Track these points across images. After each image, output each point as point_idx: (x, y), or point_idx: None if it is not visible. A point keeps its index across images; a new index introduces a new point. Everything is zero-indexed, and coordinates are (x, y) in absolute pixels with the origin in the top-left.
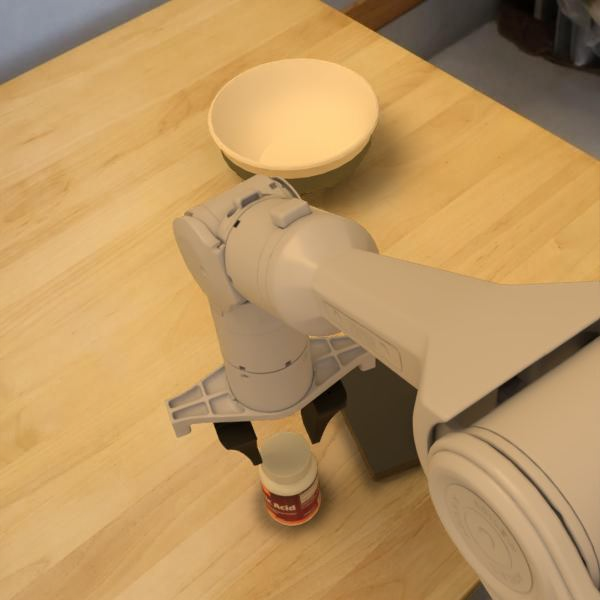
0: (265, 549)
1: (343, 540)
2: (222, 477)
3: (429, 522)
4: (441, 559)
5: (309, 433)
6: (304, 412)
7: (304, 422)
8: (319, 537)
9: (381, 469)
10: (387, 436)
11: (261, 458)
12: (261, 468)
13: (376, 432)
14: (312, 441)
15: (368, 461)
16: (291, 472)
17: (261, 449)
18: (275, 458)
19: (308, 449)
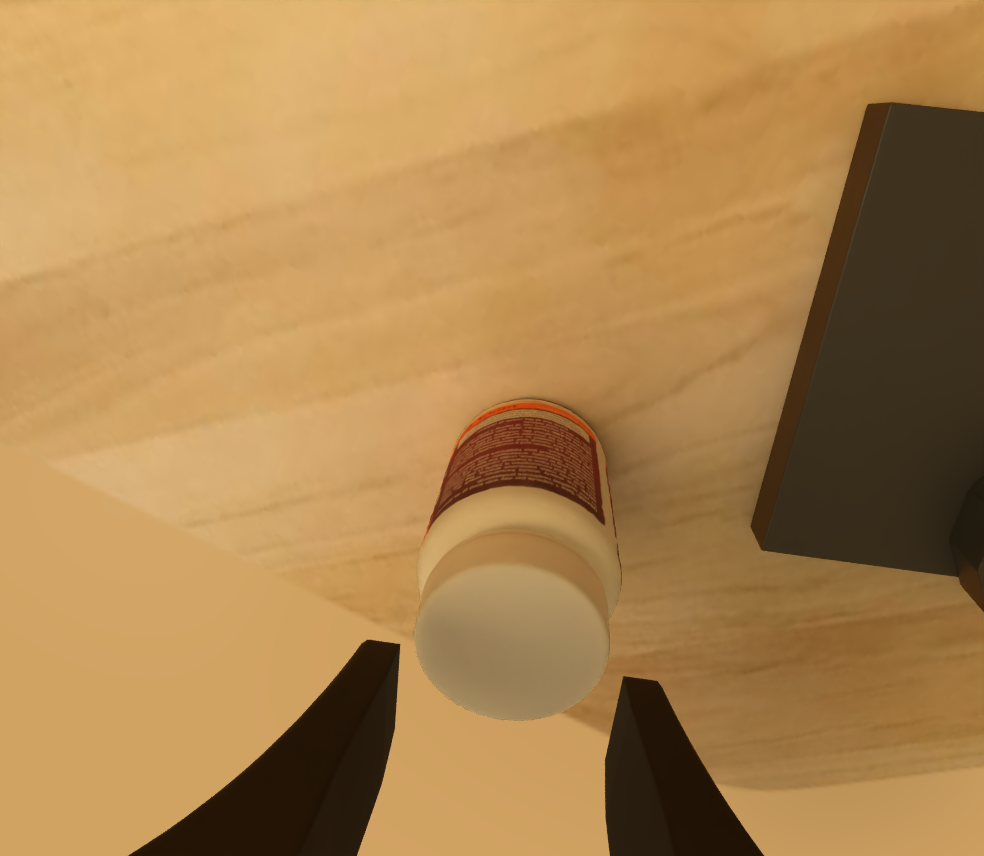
0: (407, 537)
1: None
2: (375, 304)
3: (795, 667)
4: (757, 736)
5: (612, 786)
6: (636, 805)
7: (622, 736)
8: None
9: (788, 548)
10: (879, 474)
11: (375, 799)
12: (431, 562)
13: (860, 447)
14: (605, 800)
15: (773, 513)
16: (496, 712)
17: (436, 596)
18: (469, 644)
19: (595, 676)
